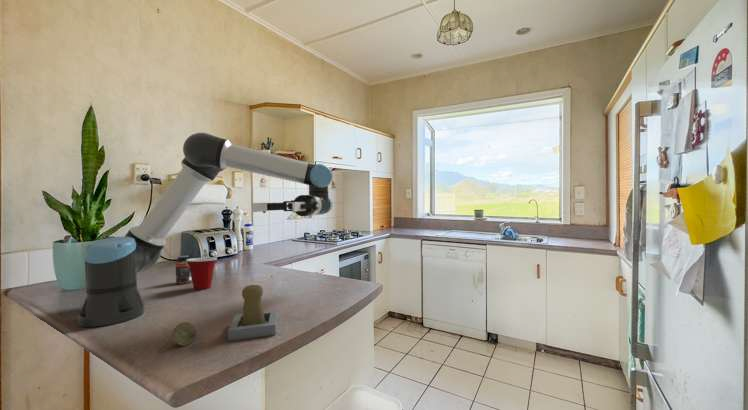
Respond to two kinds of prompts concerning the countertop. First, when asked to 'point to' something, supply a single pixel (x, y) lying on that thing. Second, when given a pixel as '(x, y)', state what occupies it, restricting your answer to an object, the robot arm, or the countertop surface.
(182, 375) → the countertop surface
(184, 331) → the grey-green short cylinder
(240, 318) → the block
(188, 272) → the supplement bottle
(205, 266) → the plastic cup
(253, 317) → the cork
